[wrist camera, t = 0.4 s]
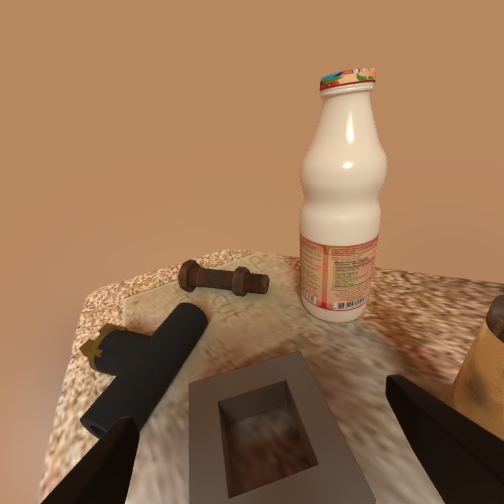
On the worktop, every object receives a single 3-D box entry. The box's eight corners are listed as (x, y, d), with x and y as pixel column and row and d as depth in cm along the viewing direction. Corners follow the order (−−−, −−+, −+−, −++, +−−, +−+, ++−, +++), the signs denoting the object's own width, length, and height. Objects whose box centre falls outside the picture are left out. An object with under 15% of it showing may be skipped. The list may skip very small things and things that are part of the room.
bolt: (267, 305, 40) (188, 294, 44) (272, 277, 42) (197, 270, 46) (261, 292, 35) (173, 281, 39) (267, 262, 37) (183, 255, 41)
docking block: (368, 520, 16) (376, 500, 15) (205, 591, 15) (189, 578, 13) (300, 374, 26) (299, 350, 24) (198, 406, 25) (188, 383, 23)
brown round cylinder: (518, 466, 18) (645, 339, 11) (471, 487, 17) (575, 366, 11) (460, 407, 22) (529, 286, 15) (420, 423, 21) (472, 303, 14)
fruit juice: (289, 309, 35) (278, 81, 22) (316, 276, 42) (320, 84, 28) (355, 335, 30) (393, 54, 16) (374, 293, 36) (413, 65, 23)
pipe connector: (24, 390, 23) (135, 292, 35) (52, 418, 26) (147, 318, 38) (112, 429, 19) (203, 304, 31) (134, 458, 22) (210, 332, 34)
